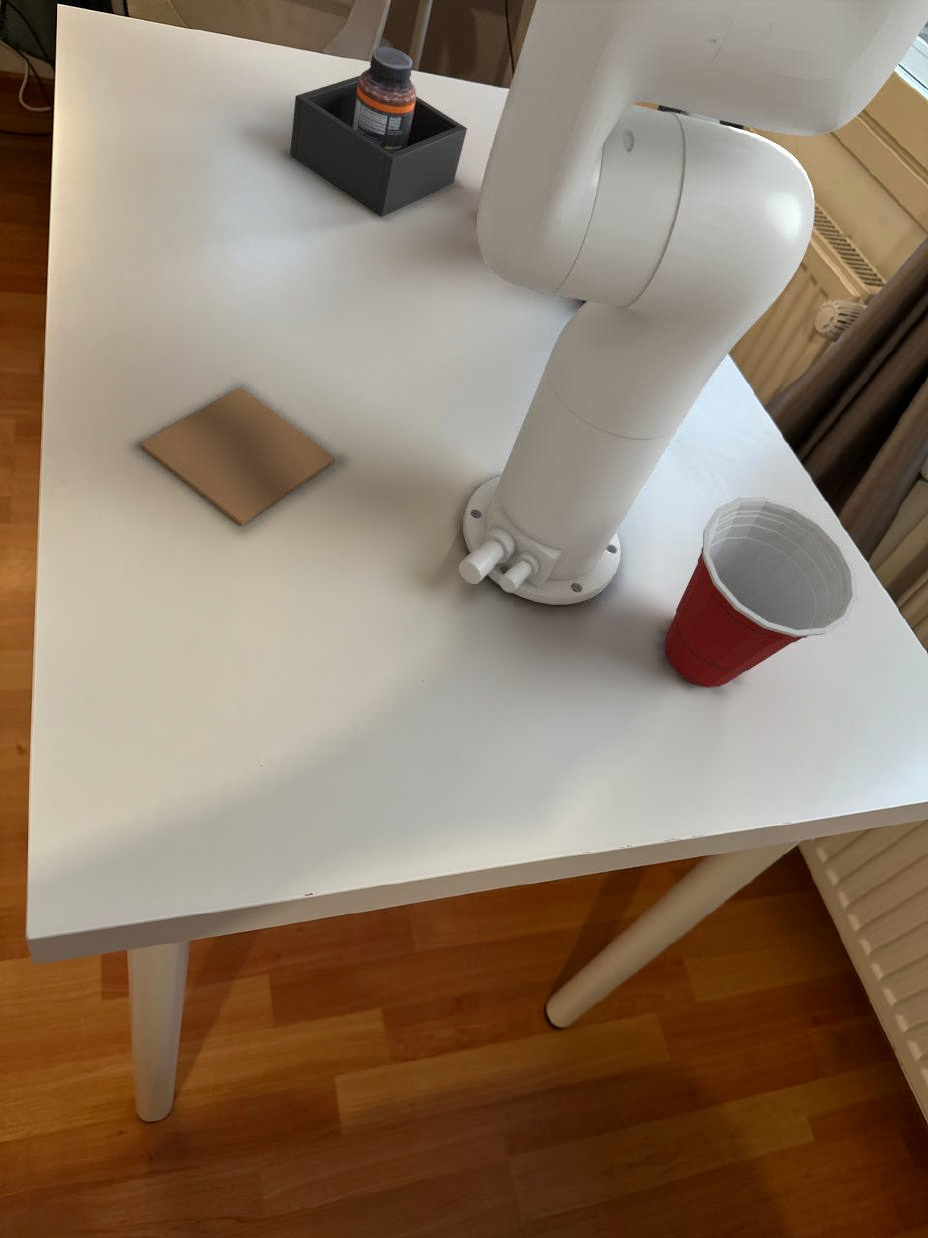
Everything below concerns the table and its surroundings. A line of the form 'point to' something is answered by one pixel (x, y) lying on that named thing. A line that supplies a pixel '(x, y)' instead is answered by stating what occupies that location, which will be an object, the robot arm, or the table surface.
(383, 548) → the table surface
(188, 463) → the coaster
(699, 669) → the plastic cup
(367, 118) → the supplement bottle
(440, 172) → the bin
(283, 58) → the table surface
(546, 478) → the robot arm
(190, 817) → the table surface
